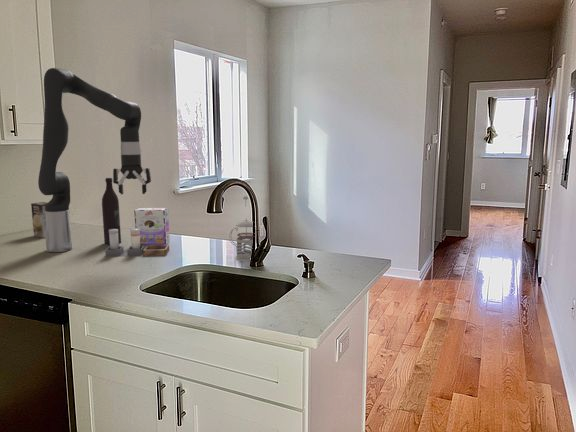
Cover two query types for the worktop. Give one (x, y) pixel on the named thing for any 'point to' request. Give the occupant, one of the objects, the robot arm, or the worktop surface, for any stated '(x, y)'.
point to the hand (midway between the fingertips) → (133, 194)
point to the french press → (244, 254)
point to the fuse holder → (124, 252)
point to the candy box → (152, 225)
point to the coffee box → (39, 219)
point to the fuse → (113, 239)
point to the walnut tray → (155, 250)
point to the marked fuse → (135, 238)
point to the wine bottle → (110, 211)
